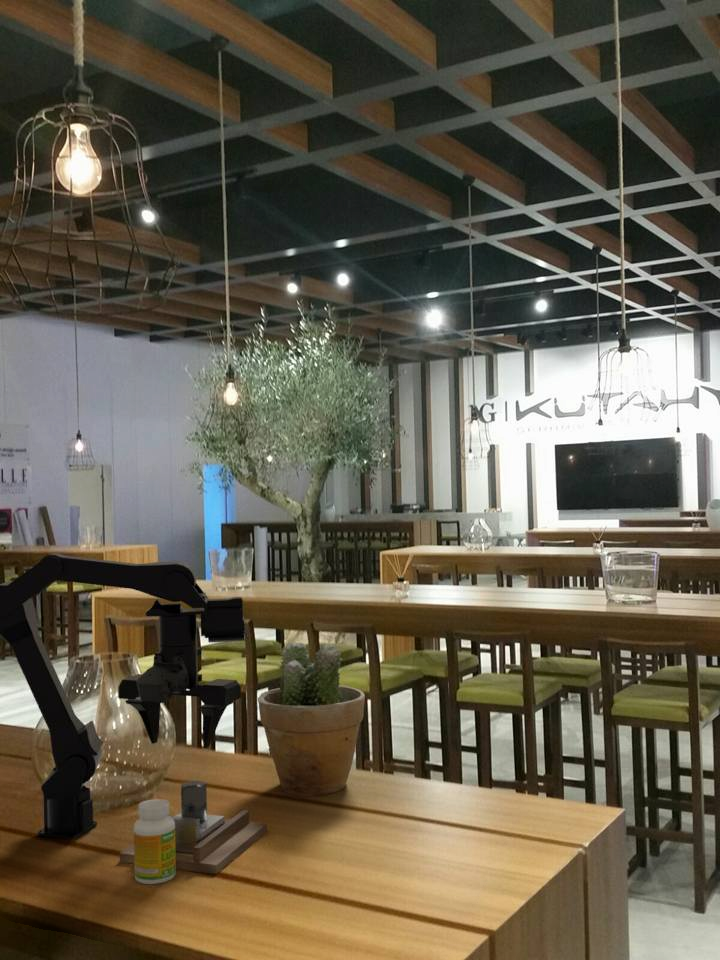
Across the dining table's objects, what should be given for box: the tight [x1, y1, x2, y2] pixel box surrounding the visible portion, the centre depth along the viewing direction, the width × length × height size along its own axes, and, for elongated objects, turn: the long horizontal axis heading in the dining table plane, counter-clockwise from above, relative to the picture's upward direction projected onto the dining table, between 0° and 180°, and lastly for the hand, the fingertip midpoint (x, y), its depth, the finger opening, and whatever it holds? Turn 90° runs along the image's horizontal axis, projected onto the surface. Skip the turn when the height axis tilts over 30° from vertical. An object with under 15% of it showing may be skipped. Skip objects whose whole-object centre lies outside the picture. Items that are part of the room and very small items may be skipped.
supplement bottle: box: [133, 798, 177, 885], centre depth 126 cm, size 5×5×10 cm
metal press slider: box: [169, 780, 225, 853], centre depth 135 cm, size 7×8×7 cm
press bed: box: [119, 809, 268, 875], centre depth 137 cm, size 15×16×3 cm
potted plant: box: [257, 641, 366, 797], centre depth 163 cm, size 18×19×25 cm
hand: (180, 745), depth 146 cm, fingers open, 9 cm apart
